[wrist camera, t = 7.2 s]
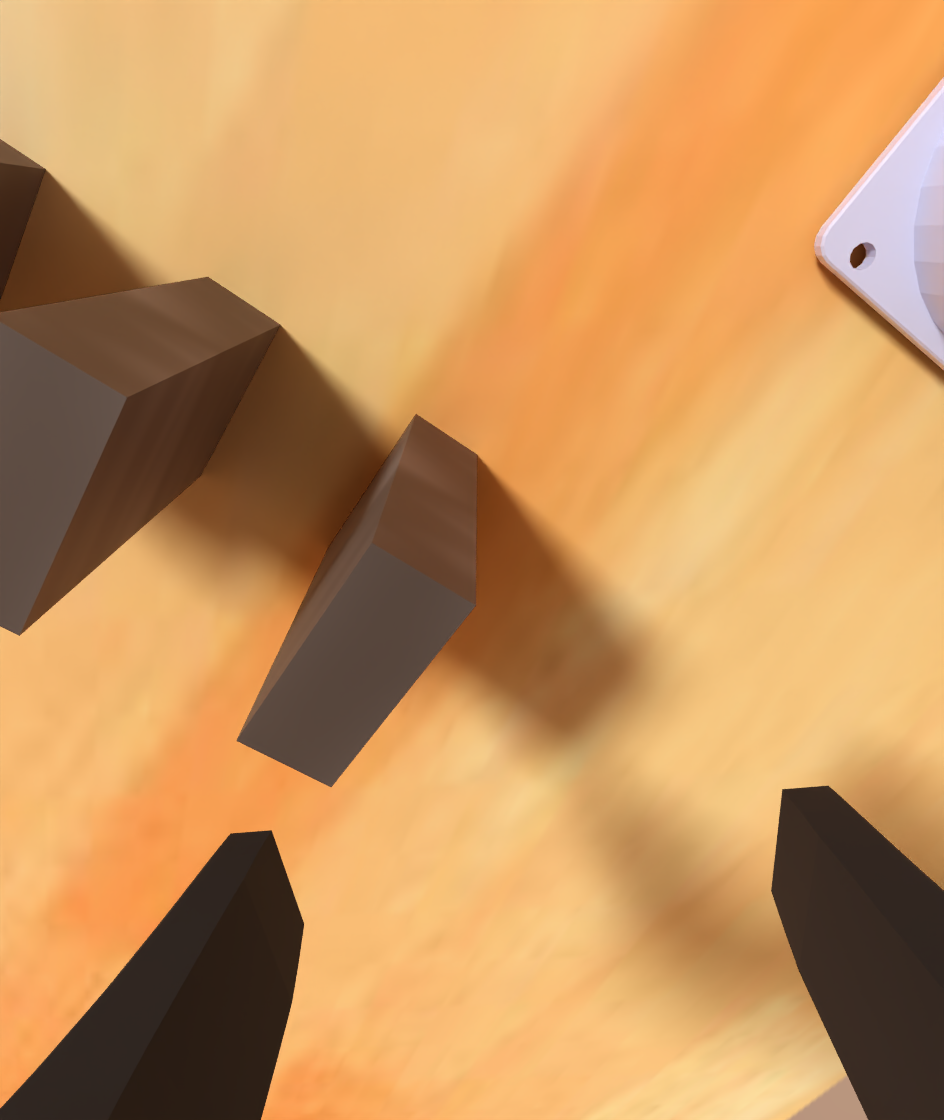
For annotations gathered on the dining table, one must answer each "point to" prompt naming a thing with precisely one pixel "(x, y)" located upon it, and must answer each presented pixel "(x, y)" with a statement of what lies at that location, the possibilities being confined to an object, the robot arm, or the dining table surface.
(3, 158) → the domino
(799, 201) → the dining table surface
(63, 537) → the domino
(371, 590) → the domino
